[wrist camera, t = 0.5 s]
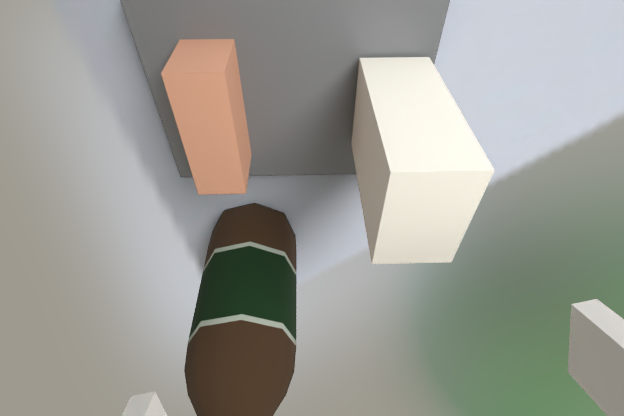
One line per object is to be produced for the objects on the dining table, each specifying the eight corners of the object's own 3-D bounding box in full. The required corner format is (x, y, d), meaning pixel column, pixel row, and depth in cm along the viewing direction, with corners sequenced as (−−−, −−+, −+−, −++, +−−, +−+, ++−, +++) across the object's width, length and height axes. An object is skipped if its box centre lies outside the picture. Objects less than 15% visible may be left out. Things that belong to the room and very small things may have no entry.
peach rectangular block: (179, 39, 20) (161, 73, 17) (234, 38, 20) (224, 72, 17) (208, 155, 26) (198, 194, 23) (251, 154, 26) (246, 193, 23)
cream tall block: (359, 57, 21) (390, 172, 14) (429, 56, 21) (494, 170, 14) (351, 143, 25) (371, 264, 18) (408, 143, 25) (451, 261, 18)
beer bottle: (215, 253, 37) (147, 607, 20) (208, 197, 31) (106, 624, 14) (293, 256, 37) (290, 599, 21) (299, 203, 32) (302, 614, 15)
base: (129, -10, 20) (120, -1, 19) (442, -12, 20) (450, -3, 19) (185, 164, 28) (180, 177, 27) (403, 160, 29) (407, 173, 28)
